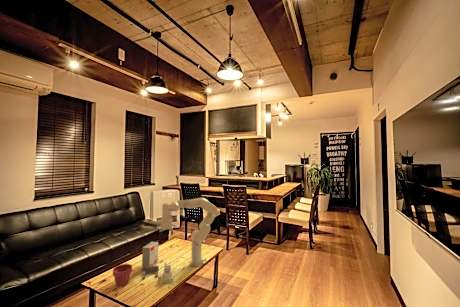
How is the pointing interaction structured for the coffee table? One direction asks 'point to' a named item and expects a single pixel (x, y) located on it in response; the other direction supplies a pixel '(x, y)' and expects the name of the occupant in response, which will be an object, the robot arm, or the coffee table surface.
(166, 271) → the capped cream block
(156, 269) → the bay
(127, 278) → the plant pot
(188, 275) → the coffee table surface
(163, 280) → the tray
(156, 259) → the hard drive box
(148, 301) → the coffee table surface
